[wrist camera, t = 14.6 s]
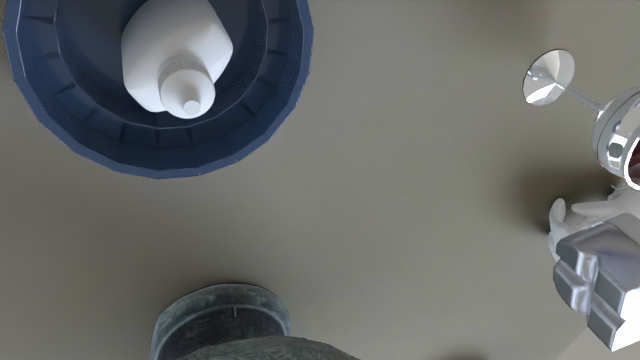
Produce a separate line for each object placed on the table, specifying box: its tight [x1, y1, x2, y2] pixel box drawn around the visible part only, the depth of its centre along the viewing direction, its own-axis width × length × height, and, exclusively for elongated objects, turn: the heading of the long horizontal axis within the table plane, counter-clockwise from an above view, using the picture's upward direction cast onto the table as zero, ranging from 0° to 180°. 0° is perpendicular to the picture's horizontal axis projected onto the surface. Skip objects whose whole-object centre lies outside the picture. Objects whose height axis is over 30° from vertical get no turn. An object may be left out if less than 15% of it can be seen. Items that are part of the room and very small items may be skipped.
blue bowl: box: [2, 0, 314, 179], centre depth 30 cm, size 15×15×6 cm
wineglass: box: [523, 50, 640, 189], centre depth 40 cm, size 7×7×12 cm
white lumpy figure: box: [548, 186, 640, 262], centre depth 52 cm, size 6×8×12 cm
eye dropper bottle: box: [121, 0, 233, 119], centre depth 27 cm, size 4×6×12 cm
